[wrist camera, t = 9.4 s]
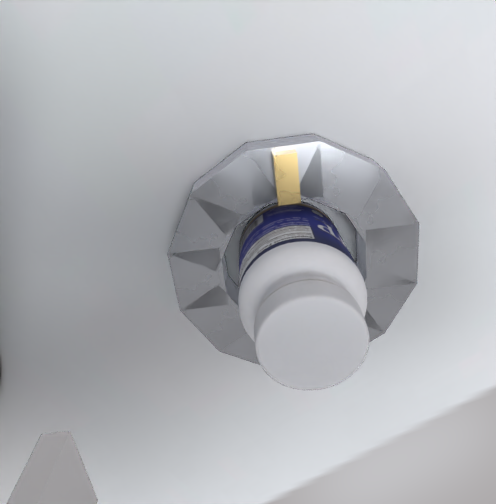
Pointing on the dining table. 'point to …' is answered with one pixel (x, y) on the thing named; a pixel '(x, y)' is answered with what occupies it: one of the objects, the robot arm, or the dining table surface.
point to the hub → (286, 192)
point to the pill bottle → (301, 297)
